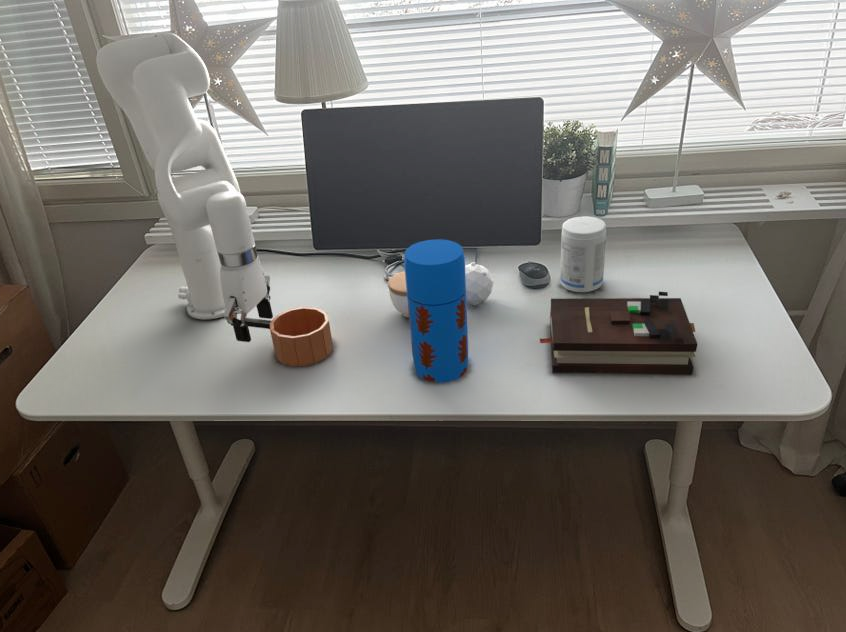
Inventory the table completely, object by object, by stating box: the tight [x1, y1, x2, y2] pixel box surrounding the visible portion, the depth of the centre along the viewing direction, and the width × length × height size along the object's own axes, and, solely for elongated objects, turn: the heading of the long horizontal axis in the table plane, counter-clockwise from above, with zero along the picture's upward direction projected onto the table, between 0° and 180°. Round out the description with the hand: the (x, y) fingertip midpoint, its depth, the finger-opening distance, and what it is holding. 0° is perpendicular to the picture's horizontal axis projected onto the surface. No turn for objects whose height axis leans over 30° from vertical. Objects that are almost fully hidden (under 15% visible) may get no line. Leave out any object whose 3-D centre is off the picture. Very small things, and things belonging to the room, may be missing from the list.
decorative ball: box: [465, 261, 495, 306], centre depth 160 cm, size 9×10×12 cm
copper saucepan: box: [245, 306, 334, 367], centre depth 149 cm, size 20×12×7 cm, turn 71°
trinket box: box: [387, 270, 409, 319], centre depth 157 cm, size 11×11×9 cm
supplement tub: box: [559, 216, 607, 293], centre depth 159 cm, size 10×10×15 cm
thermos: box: [403, 238, 469, 384], centre depth 133 cm, size 11×11×25 cm
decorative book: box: [539, 291, 698, 376], centre depth 138 cm, size 19×8×30 cm
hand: (255, 328), depth 151 cm, fingers open, 9 cm apart
